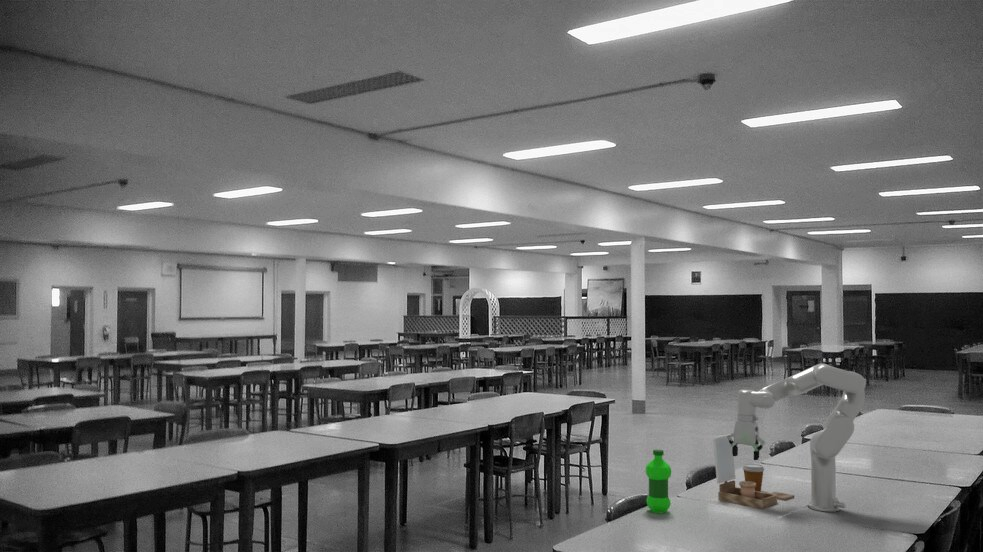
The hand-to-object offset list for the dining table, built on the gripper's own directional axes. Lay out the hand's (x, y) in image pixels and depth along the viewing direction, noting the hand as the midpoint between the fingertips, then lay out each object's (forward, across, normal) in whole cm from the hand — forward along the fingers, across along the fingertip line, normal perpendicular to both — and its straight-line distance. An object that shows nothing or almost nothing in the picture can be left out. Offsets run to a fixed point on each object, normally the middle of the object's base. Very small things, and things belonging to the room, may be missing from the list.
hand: (745, 457), depth 324 cm
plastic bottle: (+20, +17, +40) cm, 48 cm away
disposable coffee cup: (+19, +7, -22) cm, 30 cm away
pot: (+19, -1, -1) cm, 19 cm away
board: (+19, -7, -19) cm, 27 cm away
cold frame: (+19, 0, -1) cm, 19 cm away
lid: (+2, +10, 0) cm, 10 cm away
